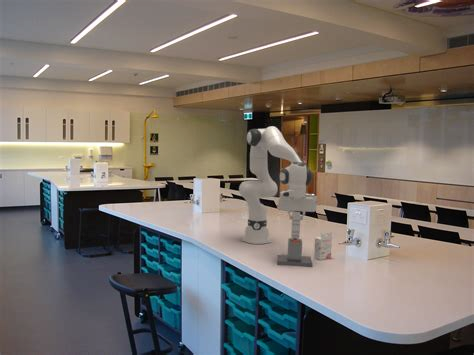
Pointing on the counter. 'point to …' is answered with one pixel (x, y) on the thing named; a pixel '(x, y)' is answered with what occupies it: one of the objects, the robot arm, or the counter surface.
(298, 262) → the stand base
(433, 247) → the counter surface
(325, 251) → the ink cartridge box
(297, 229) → the column
